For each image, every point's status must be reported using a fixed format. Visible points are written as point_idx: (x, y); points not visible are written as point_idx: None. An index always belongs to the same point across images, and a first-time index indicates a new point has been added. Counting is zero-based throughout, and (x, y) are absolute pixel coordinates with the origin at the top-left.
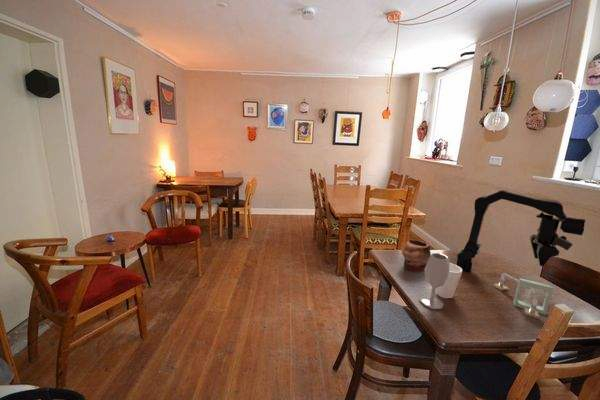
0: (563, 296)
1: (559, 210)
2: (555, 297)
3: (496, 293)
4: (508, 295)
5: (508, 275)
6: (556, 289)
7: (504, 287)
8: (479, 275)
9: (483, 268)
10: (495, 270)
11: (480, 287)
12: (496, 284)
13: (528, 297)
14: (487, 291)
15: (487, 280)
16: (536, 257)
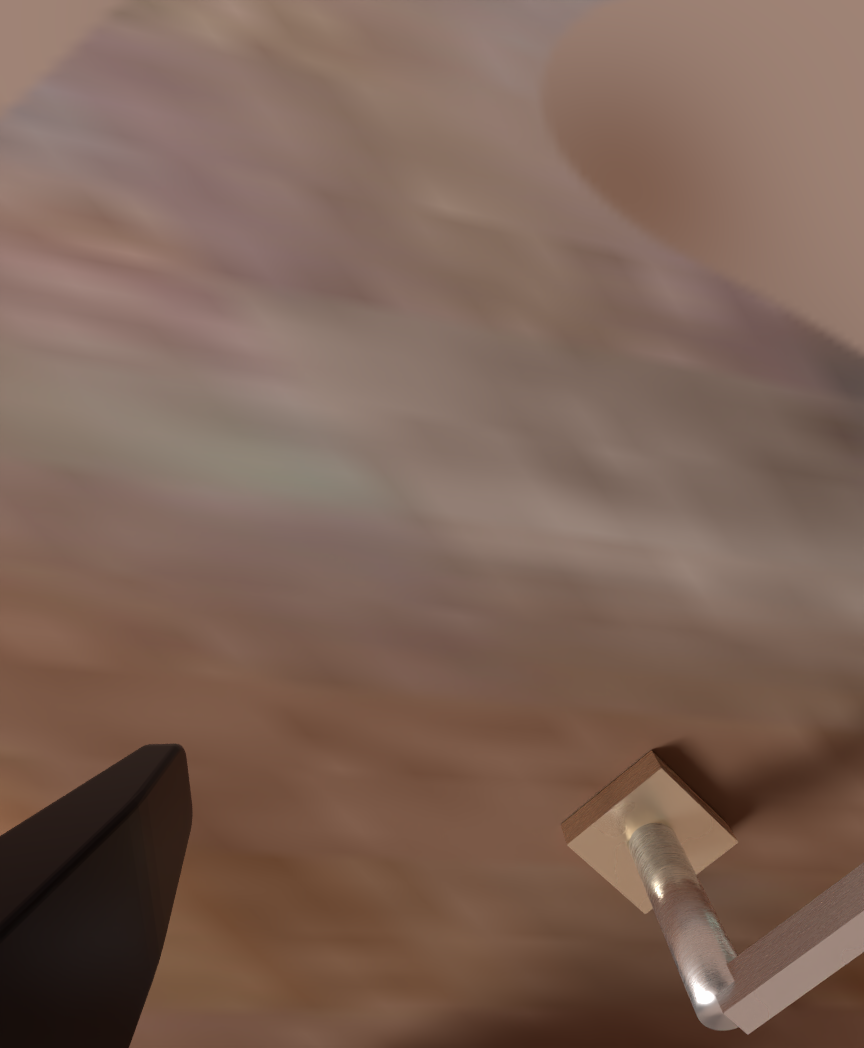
0: (371, 25)
1: None
2: (503, 173)
3: (837, 867)
4: (819, 757)
5: (804, 974)
6: (123, 68)
7: (680, 811)
8: (398, 1011)
9: None
10: None
11: None
12: (638, 885)
13: (741, 547)
14: None
15: (500, 939)
16: (173, 814)
